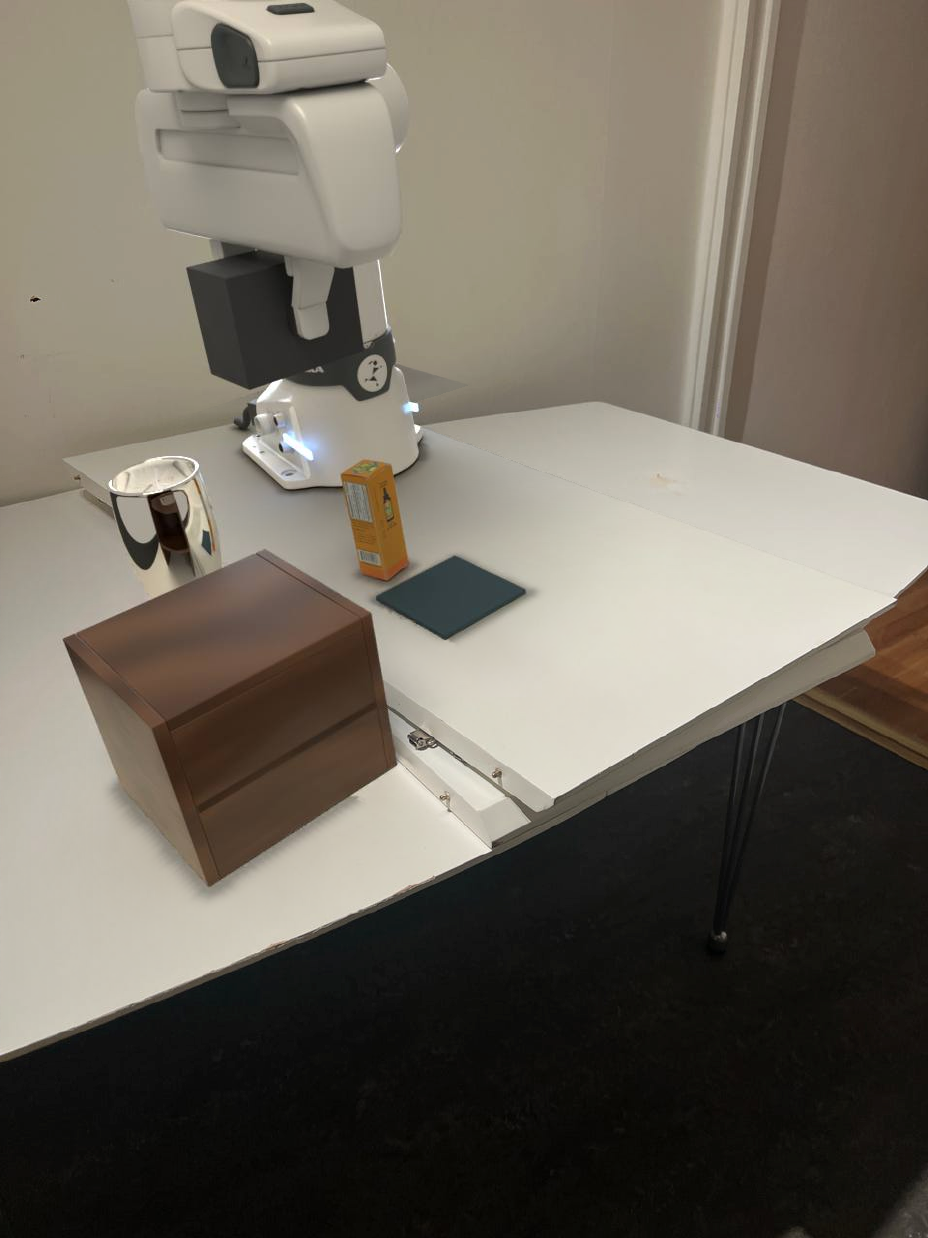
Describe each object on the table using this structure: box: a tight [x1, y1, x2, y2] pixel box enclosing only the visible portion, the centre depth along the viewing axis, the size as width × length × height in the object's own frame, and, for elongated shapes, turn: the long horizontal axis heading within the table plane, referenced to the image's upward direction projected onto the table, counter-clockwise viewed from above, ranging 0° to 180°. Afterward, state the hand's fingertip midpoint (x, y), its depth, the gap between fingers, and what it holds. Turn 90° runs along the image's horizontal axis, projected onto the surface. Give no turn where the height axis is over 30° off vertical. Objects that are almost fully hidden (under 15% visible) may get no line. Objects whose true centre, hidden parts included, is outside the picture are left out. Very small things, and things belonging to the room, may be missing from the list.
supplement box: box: [340, 459, 409, 581], centre depth 78 cm, size 3×3×10 cm
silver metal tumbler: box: [106, 455, 223, 600], centre depth 70 cm, size 7×7×15 cm
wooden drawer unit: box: [62, 548, 398, 887], centre depth 57 cm, size 12×14×12 cm
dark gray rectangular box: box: [185, 249, 364, 391], centre depth 52 cm, size 4×8×6 cm, turn 132°
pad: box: [375, 555, 527, 640], centre depth 76 cm, size 9×9×1 cm
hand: (282, 326), depth 52 cm, fingers closed on dark gray rectangular box, 4 cm apart
